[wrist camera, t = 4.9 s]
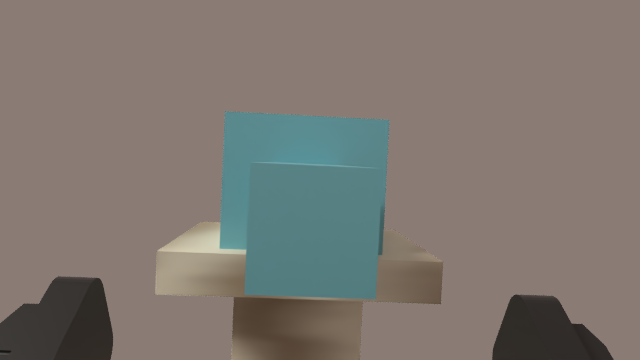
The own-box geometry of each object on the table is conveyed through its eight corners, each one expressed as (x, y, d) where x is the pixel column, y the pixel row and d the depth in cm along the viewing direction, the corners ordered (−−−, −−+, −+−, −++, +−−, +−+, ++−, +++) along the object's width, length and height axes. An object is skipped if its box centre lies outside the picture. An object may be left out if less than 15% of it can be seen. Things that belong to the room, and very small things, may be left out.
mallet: (148, 331, 10) (159, 63, 10) (240, 223, 27) (245, 126, 27) (463, 341, 10) (478, 80, 10) (356, 228, 28) (361, 132, 28)
